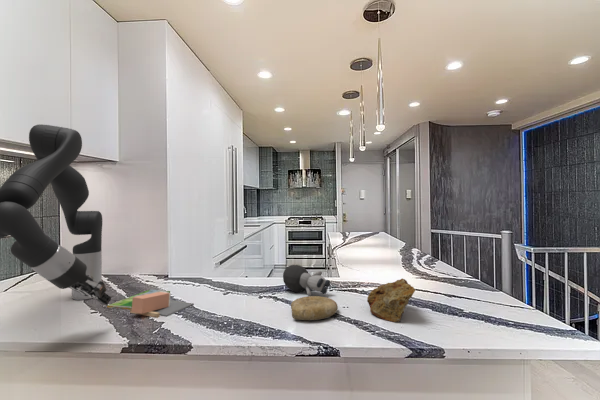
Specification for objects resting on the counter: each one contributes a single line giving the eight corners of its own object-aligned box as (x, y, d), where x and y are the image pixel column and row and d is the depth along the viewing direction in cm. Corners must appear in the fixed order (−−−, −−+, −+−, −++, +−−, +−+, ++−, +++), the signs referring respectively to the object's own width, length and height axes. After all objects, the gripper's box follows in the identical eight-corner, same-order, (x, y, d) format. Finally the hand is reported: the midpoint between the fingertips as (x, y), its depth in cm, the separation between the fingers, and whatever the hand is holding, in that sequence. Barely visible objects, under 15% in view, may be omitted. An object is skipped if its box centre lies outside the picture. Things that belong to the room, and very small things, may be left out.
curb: (130, 312, 99) (130, 309, 99) (132, 311, 100) (132, 308, 100) (157, 317, 94) (157, 313, 94) (159, 316, 95) (159, 312, 95)
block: (132, 297, 96) (160, 291, 106) (131, 311, 95) (159, 304, 105) (142, 298, 94) (170, 292, 104) (141, 313, 94) (169, 306, 104)
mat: (131, 310, 102) (131, 308, 102) (160, 299, 113) (160, 298, 113) (166, 316, 95) (166, 315, 95) (193, 304, 106) (193, 303, 106)
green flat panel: (106, 309, 105) (130, 311, 102) (106, 305, 105) (130, 307, 102) (149, 292, 124) (170, 294, 122) (149, 289, 124) (170, 290, 122)
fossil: (343, 323, 89) (342, 307, 89) (292, 325, 88) (292, 309, 88) (332, 303, 106) (332, 290, 106) (290, 305, 105) (289, 292, 105)
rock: (375, 306, 108) (354, 290, 106) (403, 275, 107) (382, 258, 105) (397, 340, 89) (372, 321, 87) (431, 302, 88) (407, 283, 86)
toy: (338, 284, 121) (297, 272, 132) (329, 268, 113) (287, 256, 125) (327, 308, 115) (285, 294, 126) (317, 293, 108) (274, 279, 119)
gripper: (87, 255, 75) (132, 291, 86) (55, 252, 80) (101, 287, 91) (64, 281, 70) (114, 316, 81) (31, 277, 75) (82, 310, 86)
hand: (107, 301), depth 86 cm, fingers closed
